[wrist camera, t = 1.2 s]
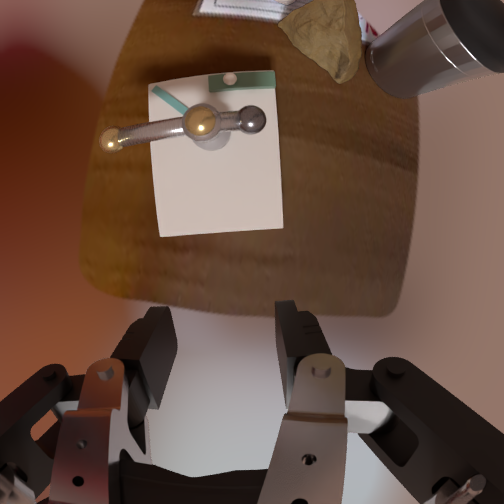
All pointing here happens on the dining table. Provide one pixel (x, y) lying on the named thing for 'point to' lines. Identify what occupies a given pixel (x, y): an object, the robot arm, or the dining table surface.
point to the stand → (217, 158)
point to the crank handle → (186, 127)
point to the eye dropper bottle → (285, 1)
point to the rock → (327, 35)
